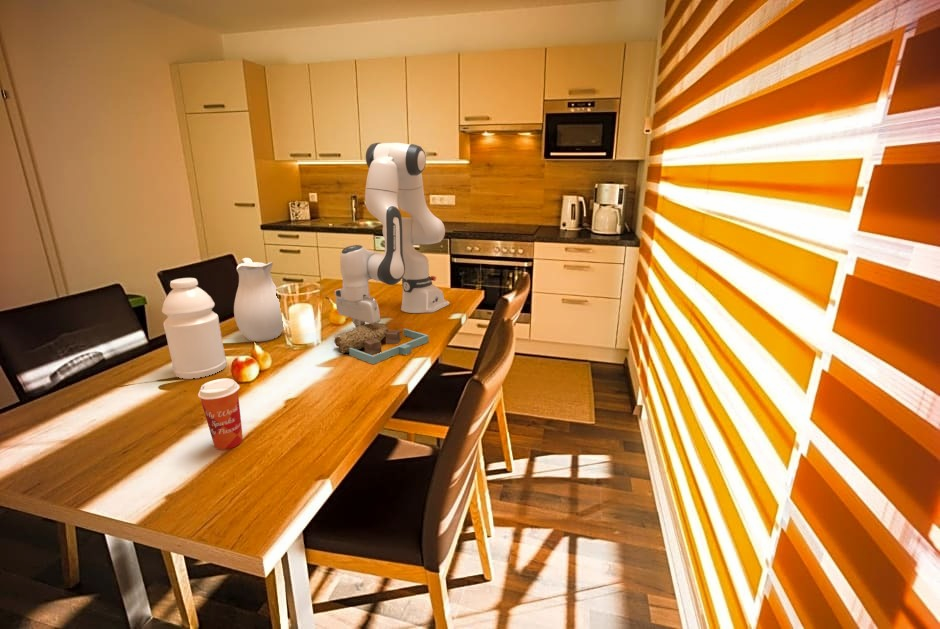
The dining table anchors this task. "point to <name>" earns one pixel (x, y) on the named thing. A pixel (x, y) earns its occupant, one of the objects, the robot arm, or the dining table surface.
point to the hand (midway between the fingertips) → (359, 330)
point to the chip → (372, 346)
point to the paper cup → (222, 412)
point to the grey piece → (400, 349)
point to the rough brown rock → (360, 336)
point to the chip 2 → (393, 337)
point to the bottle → (192, 331)
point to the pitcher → (257, 302)
